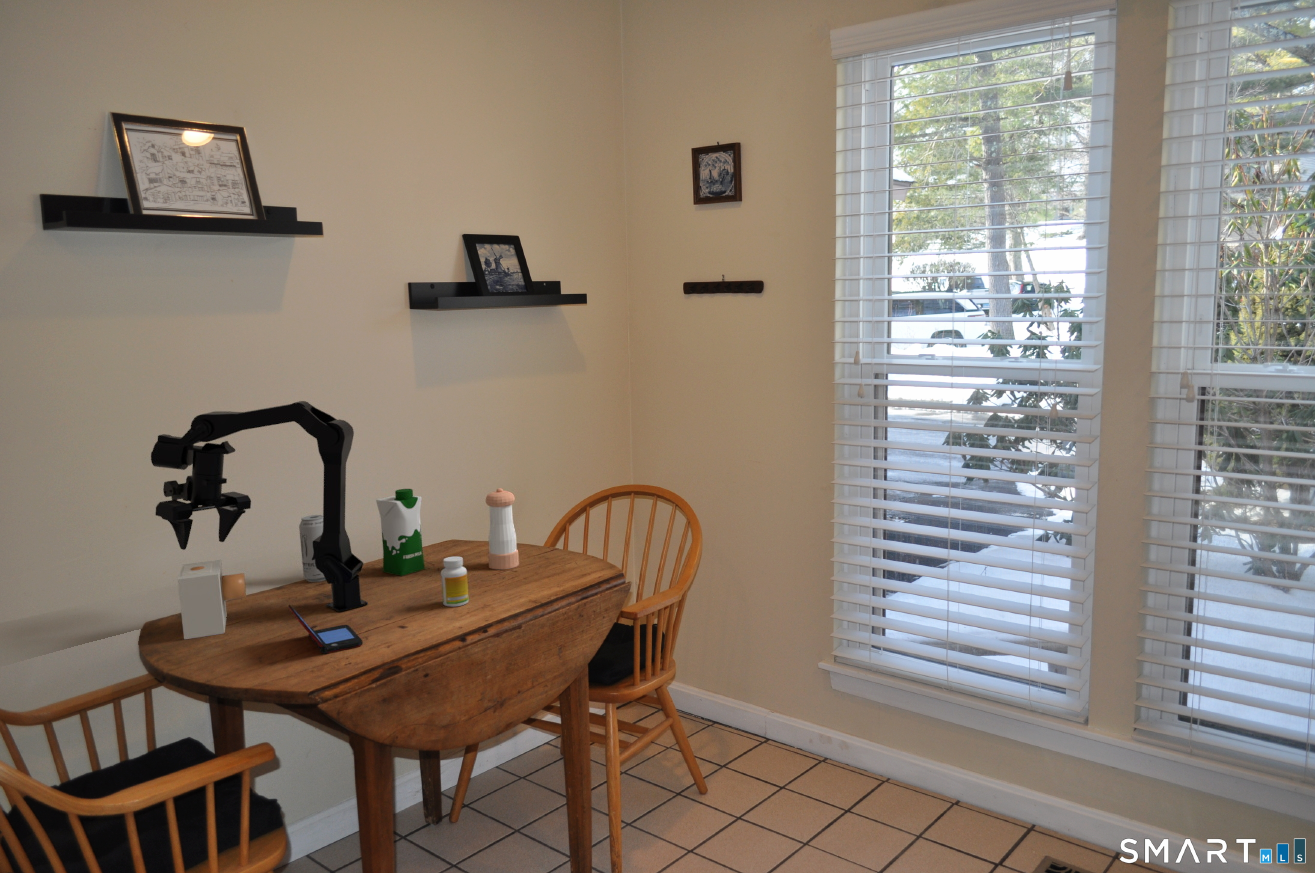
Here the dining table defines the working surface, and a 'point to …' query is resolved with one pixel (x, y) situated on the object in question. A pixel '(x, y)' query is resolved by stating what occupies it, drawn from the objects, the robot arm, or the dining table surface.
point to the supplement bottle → (454, 582)
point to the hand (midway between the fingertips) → (202, 545)
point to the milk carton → (401, 533)
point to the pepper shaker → (502, 531)
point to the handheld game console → (331, 636)
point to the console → (202, 599)
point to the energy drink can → (310, 546)
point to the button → (233, 586)
